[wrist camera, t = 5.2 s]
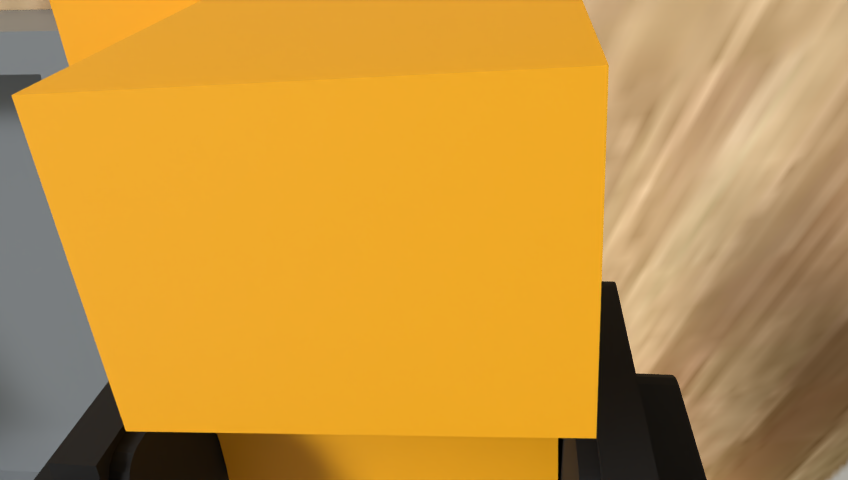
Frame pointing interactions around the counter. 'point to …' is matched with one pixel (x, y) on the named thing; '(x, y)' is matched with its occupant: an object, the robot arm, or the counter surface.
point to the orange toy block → (336, 226)
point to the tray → (35, 275)
